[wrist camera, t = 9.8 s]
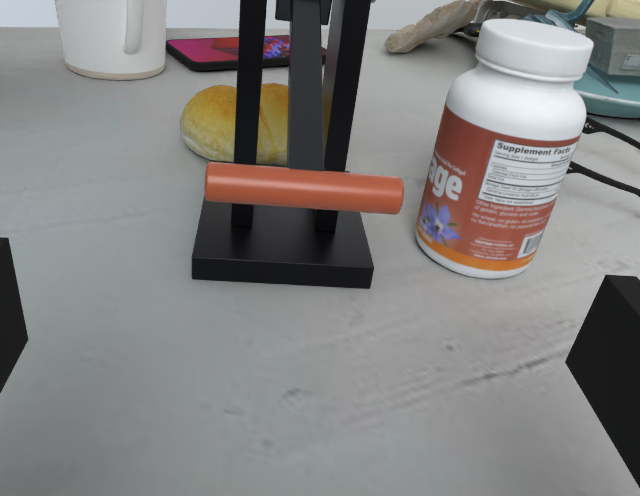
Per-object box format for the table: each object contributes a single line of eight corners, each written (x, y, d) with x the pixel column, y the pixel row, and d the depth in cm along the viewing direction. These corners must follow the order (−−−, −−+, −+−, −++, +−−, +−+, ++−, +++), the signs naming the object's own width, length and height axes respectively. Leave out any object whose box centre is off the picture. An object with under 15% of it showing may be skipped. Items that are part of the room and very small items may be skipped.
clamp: (528, 60, 70) (433, 28, 79) (568, 54, 76) (476, 25, 85) (539, 23, 68) (441, -5, 77) (580, 20, 73) (483, -6, 82)
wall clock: (741, 43, 76) (686, -2, 54) (725, 70, 77) (666, 37, 56) (539, -13, 93) (437, -64, 71) (530, 10, 94) (426, -33, 73)
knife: (490, 46, 57) (541, 44, 57) (491, 29, 56) (542, 28, 56) (436, 32, 78) (473, 31, 78) (437, 20, 78) (474, 19, 78)
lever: (391, 232, 19) (411, 187, 17) (205, 220, 18) (203, 171, 16) (368, -10, 26) (380, -63, 24) (233, -26, 25) (233, -82, 23)
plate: (605, 145, 47) (619, 110, 45) (433, 63, 62) (439, 36, 61) (751, 124, 57) (766, 95, 55) (572, 58, 73) (580, 35, 71)
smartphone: (161, 39, 55) (297, 34, 62) (161, 49, 55) (296, 42, 63) (193, 63, 50) (338, 54, 57) (193, 73, 50) (336, 63, 58)
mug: (48, 53, 50) (30, -84, 45) (150, 49, 55) (145, -75, 49) (81, 94, 43) (65, -63, 37) (196, 86, 47) (197, -55, 42)
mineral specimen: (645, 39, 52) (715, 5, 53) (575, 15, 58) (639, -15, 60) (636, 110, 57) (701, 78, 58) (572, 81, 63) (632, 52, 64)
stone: (379, 34, 63) (389, 60, 63) (477, -12, 59) (486, 16, 59) (400, 32, 75) (408, 54, 75) (483, -5, 70) (490, 18, 71)
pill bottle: (407, 213, 33) (453, 7, 27) (513, 226, 33) (582, 24, 28) (420, 276, 28) (481, 38, 22) (545, 290, 28) (639, 58, 22)
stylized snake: (527, 27, 66) (567, -28, 63) (643, 113, 52) (703, 47, 48) (483, -1, 62) (523, -61, 59) (595, 83, 48) (655, 9, 45)
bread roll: (174, 124, 40) (173, 66, 38) (299, 124, 43) (304, 69, 41) (188, 177, 34) (188, 110, 32) (334, 173, 37) (343, 111, 34)
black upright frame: (369, 289, 27) (438, -46, 19) (191, 279, 26) (191, -77, 18) (346, 188, 35) (387, -72, 28) (211, 178, 34) (216, -94, 27)
